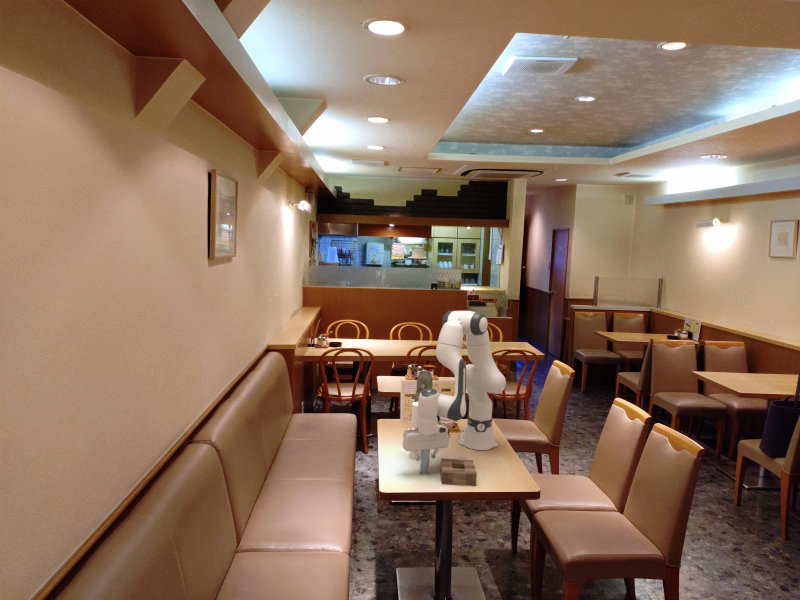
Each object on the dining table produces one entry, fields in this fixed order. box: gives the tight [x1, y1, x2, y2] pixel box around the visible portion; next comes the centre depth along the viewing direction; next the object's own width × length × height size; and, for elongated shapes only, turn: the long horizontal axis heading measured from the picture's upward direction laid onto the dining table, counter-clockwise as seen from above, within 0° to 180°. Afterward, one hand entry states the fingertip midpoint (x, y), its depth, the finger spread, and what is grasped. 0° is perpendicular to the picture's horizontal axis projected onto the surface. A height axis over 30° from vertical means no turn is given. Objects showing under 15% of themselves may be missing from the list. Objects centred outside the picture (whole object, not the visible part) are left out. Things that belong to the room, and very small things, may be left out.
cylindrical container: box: [409, 401, 421, 461], centre depth 248 cm, size 7×7×25 cm
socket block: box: [439, 458, 478, 487], centre depth 230 cm, size 14×14×5 cm
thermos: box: [414, 370, 433, 402], centre depth 266 cm, size 9×12×35 cm
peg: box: [419, 448, 431, 475], centre depth 232 cm, size 4×4×12 cm
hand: (425, 458), depth 232 cm, fingers open, 6 cm apart
